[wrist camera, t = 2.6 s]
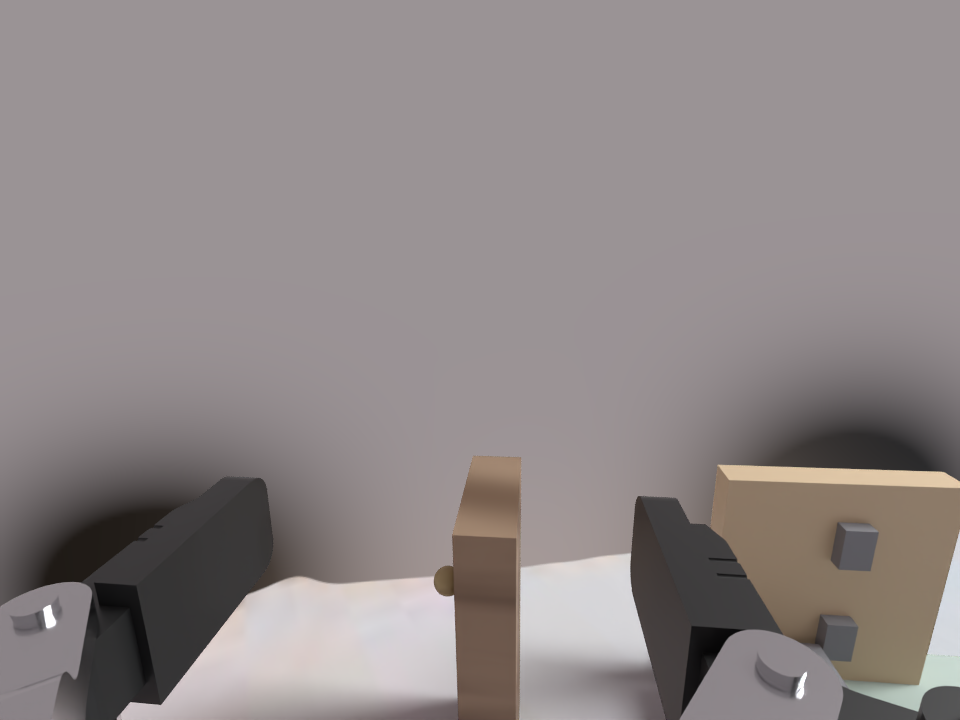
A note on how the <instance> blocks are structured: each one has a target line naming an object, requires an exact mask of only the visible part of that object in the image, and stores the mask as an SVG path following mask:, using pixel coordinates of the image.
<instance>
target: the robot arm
mask: <svg viewBox="0 0 960 720" xmlns="http://www.w3.org/2000/svg"><path fill="white" fill-rule="evenodd" d="M272 551H273V535H272V527H271V519H270V511H269V503H268V495H267V488H266V484H265V482H264V481H263V480H262V479H261V478H249V477H224V478H222V479H221V480H220V481H219V482H217V483H216V484H215V485H213V486H212V487H211V488H210V489H209V490H207V491H206V492H205V493H204V494H203V495H201V496H200V497H199V498H197V499H195V500H193V501H191V502H189V503H187V504H185V505H183V506H181V507H179V508H177V509H175V510H173V511H172V512H170V513H169V514H168V515H166V516H165V517H164V518H163V519H161V520H160V521H159V522H158V523H156V524H155V525H154V528H150V529H149V530H148V531H146V532H145V533H144V534H142V535H141V536H140V537H139V538H138V541H133V542H132V543H131V544H130V545H128V546H127V547H126V548H125V549H123V550H122V551H121V552H120V553H118V554H117V555H116V556H115V557H113V558H112V559H111V560H109V561H108V562H107V563H106V564H104V565H103V566H102V567H100V568H99V569H98V570H97V571H95V572H94V573H93V574H92V575H90V576H89V577H88V578H87V579H85V580H84V581H83V582H81V583H78V582H65V583H58V584H52V585H48V586H44V587H41V588H38V589H35V590H33V591H30V592H27V593H25V594H22V595H20V596H18V597H16V598H14V599H12V600H11V601H9V602H7V603H5V604H4V605H2V606H0V720H122V719H121V712H122V711H123V710H124V709H125V708H126V706H127V705H128V704H129V703H130V702H136V703H147V704H157V705H161V704H162V703H163V702H164V700H165V699H166V698H167V696H168V695H169V694H170V693H171V691H172V690H173V689H174V687H175V686H176V685H177V684H178V682H179V681H180V680H181V679H182V677H183V676H184V675H185V673H186V672H187V671H188V670H189V668H190V667H191V666H192V664H193V663H194V662H195V661H196V659H197V658H198V657H199V655H200V654H201V653H202V652H203V650H204V649H205V648H206V646H207V645H208V644H209V643H210V641H211V640H212V639H213V637H214V636H215V635H216V634H217V632H218V631H219V630H220V628H221V627H222V626H223V625H224V623H225V622H226V621H227V619H228V618H229V617H230V616H231V614H232V613H233V612H234V610H235V609H236V608H237V607H238V605H239V604H240V603H241V601H242V600H243V599H244V598H245V596H246V595H247V594H248V592H249V591H250V590H251V588H252V587H253V586H254V585H255V583H256V582H257V581H258V580H259V578H260V577H261V576H262V574H263V573H264V572H265V570H266V569H267V567H268V565H269V562H270V559H271V556H272ZM630 572H631V586H632V593H633V597H634V601H635V605H636V608H637V612H638V616H639V620H640V623H641V627H642V631H643V634H644V638H645V642H646V646H647V649H648V653H649V657H650V661H651V664H652V668H653V672H654V675H655V679H656V683H657V687H658V690H659V694H660V698H661V702H662V705H663V709H664V713H665V716H666V720H960V687H957V686H938V687H934V688H931V689H929V690H928V691H927V692H925V694H924V695H923V697H922V700H921V703H920V707H919V711H915V710H911V709H908V708H905V707H902V706H899V705H895V704H892V703H889V702H886V701H883V700H880V699H876V698H873V697H870V696H867V695H864V694H861V693H858V692H855V691H853V690H850V689H848V688H846V687H844V686H842V685H841V683H840V681H839V678H838V677H837V675H836V674H835V672H834V671H833V669H832V668H831V667H830V666H829V665H828V664H827V663H826V662H825V661H824V660H823V659H822V658H821V657H820V656H819V655H818V654H816V653H815V652H814V651H812V650H811V649H809V648H808V647H806V646H805V645H803V644H801V643H799V642H797V641H796V640H794V639H791V638H789V637H786V636H784V635H783V633H782V632H781V630H780V628H779V627H778V625H777V623H776V622H775V620H774V619H773V617H772V615H771V614H770V612H769V610H768V609H767V607H766V605H765V604H764V602H763V601H762V599H761V597H760V596H759V594H758V592H757V591H756V589H755V587H754V586H753V584H752V583H751V581H750V579H747V574H746V573H745V571H744V569H743V568H742V566H741V564H740V563H738V562H737V558H736V556H735V555H734V553H733V551H732V550H731V548H730V546H729V545H728V543H727V542H726V540H724V539H723V538H722V537H721V536H719V535H718V534H717V533H716V532H714V531H713V530H712V529H711V528H709V527H708V526H707V525H705V524H690V522H689V520H688V519H687V517H686V515H685V513H684V511H683V509H682V507H681V505H680V504H679V501H678V500H677V499H676V498H668V497H646V496H645V497H644V496H638V497H637V500H636V504H635V515H634V527H633V539H632V551H631V566H630Z"/></svg>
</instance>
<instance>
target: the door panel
mask: <svg viewBox="0 0 960 720" xmlns="http://www.w3.org/2000/svg"><path fill="white" fill-rule="evenodd" d="M452 540H453V567H452V566H444V567H442V568H440V569H439V570H438V571H437V572H436V574H435V577H434V586H435V589H436V590H437V592H438V593H439V594H441V595H443V596H452V595H454V602H455V631H456V661H457V691H458V720H519V701H520V547H521V546H520V545H521V541H520V540H521V458H520V457H492V456H473V458H472V462H471V466H470V470H469V473H468V477H467V481H466V485H465V488H464V492H463V496H462V500H461V504H460V508H459V511H458V515H457V519H456V523H455V527H454V530H453V534H452Z"/></svg>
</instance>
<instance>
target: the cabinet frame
mask: <svg viewBox="0 0 960 720" xmlns="http://www.w3.org/2000/svg"><path fill="white" fill-rule="evenodd" d="M710 528H711V529H712V530H713V531H714V532H716V533H717V534H718V535H719V536H721V537H722V538H723V539H724V540H726V542H727V543H728V545H729V546H730V548H731V550H732V551H733V553H734V555H735V556H736V558H737V562H738V563H740V564H741V566H742V568H743V569H744V571H745V573H746V574H747V579H750V581H751V583H752V584H753V586H754V587H755V589H756V591H757V592H758V594H759V596H760V597H761V599H762V601H763V602H764V604H765V605H766V607H767V609H768V610H769V612H770V614H771V615H772V617H773V619H774V620H775V622H776V623H777V625H778V627H779V628H780V630H781V632H782V633H783V635H784V636H786V637H789V638H791V639H794V640H796V641H797V642H799V643H801V644H803V645H805V646H806V647H808V648H809V649H811V650H812V651H814V652H815V653H816V654H818V655H819V656H820V657H821V658H822V659H823V660H824V661H825V662H826V663H827V664H828V665H829V666H830V667H831V668H832V669H833V671H834V672H835V674H836V675H837V677H838V678H839V681H840V683H841V685H842V686H844V687H846V688H848V689H850V690H853V691H855V692H858V693H861V694H864V695H867V696H870V697H873V698H876V699H880V700H883V701H886V702H889V703H892V704H895V705H899V706H902V707H905V708H908V709H911V710H915V711H919V707H920V703H921V700H922V697H923V695H924V694H925V692H927V691H928V690H929V689H931V688H934V687H938V686H957V687H960V656H944V655H929V654H927V652H928V649H929V645H930V641H931V637H932V633H933V630H934V626H935V622H936V618H937V614H938V611H939V607H940V603H941V599H942V595H943V591H944V588H945V584H946V580H947V576H948V572H949V569H950V565H951V561H952V557H953V553H954V550H955V546H956V542H957V538H958V534H959V530H960V482H959V481H958V480H956V479H954V478H953V477H951V476H949V475H948V474H946V473H945V472H925V471H894V470H893V471H891V470H862V469H829V468H799V467H768V466H738V465H718V467H717V476H716V484H715V493H714V501H713V510H712V519H711V527H710Z"/></svg>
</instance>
